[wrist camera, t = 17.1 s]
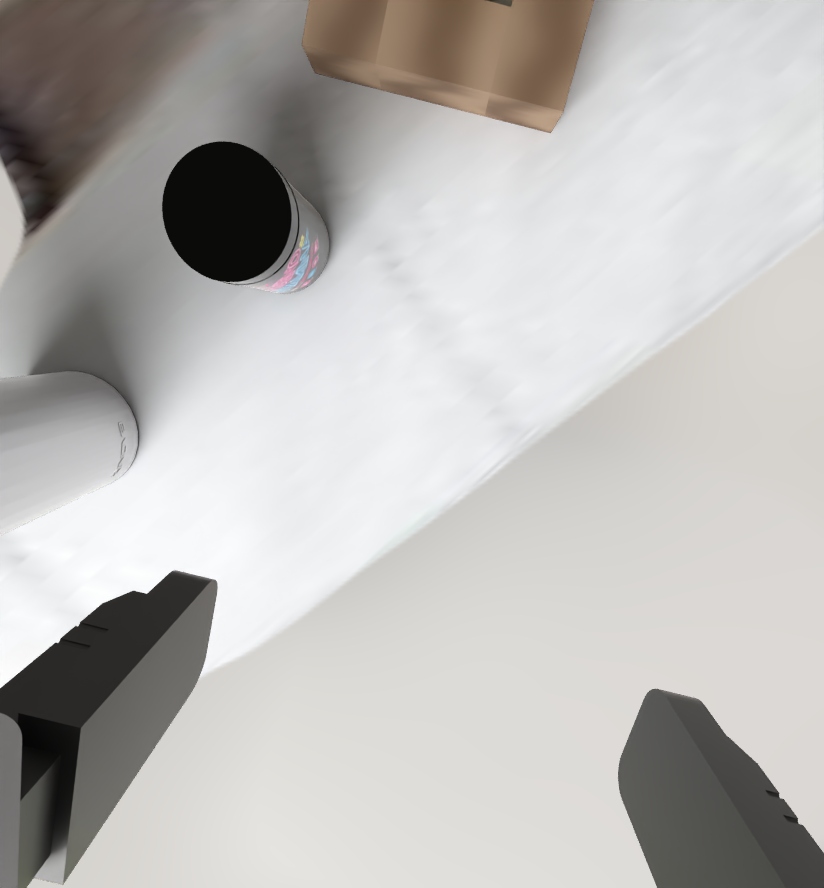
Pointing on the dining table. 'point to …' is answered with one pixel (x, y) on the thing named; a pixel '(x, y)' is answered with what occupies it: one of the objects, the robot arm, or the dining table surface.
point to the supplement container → (243, 220)
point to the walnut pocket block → (455, 52)
